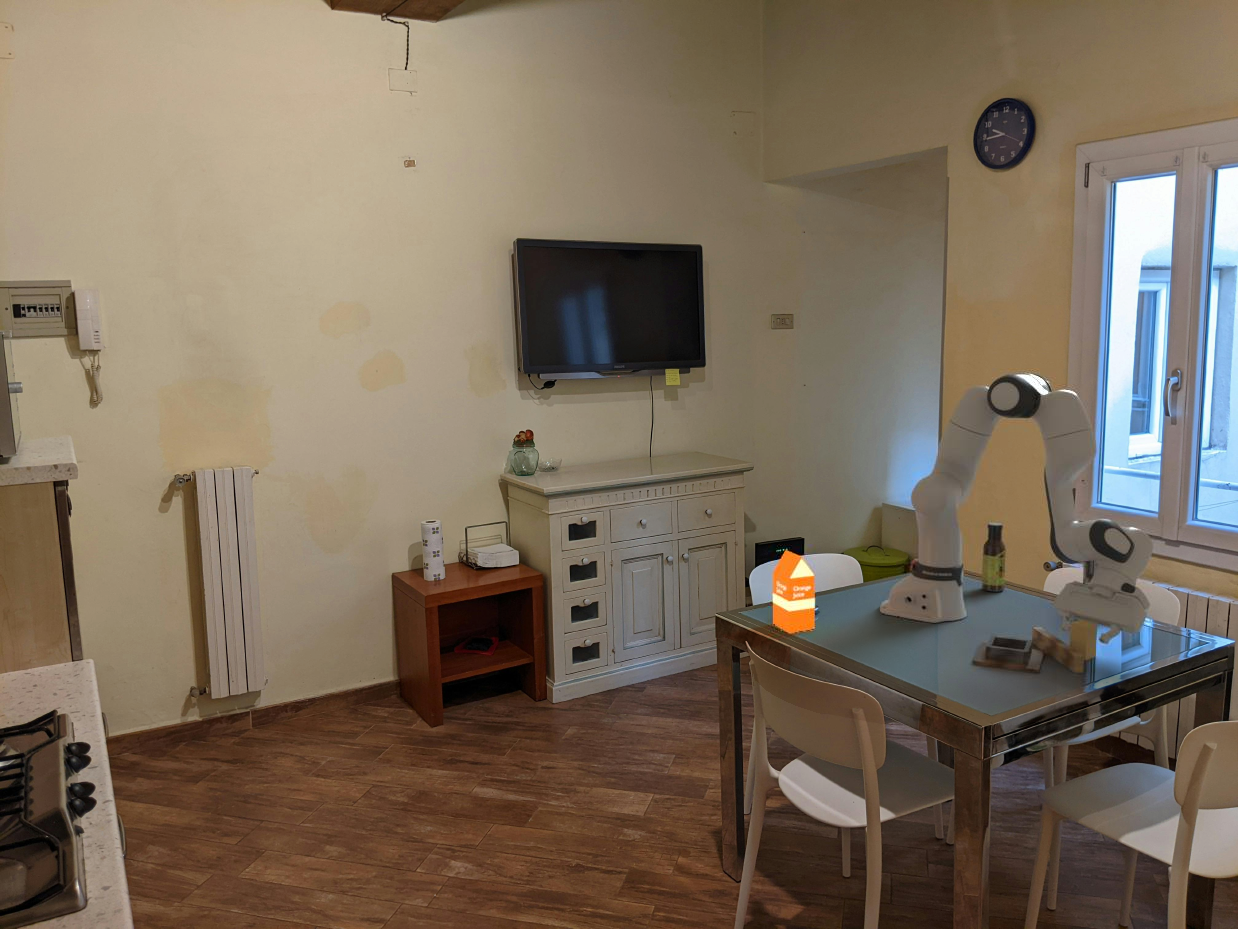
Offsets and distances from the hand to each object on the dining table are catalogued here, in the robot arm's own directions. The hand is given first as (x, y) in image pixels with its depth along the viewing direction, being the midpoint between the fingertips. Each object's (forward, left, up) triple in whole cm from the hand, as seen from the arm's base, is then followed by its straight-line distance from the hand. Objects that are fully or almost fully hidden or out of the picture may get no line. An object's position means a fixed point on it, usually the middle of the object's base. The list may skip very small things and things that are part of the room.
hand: (1083, 636), depth 213 cm
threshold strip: (-5, -3, -5) cm, 8 cm away
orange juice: (-68, -7, -5) cm, 69 cm away
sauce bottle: (-26, +50, -5) cm, 57 cm away
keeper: (-15, -9, -5) cm, 18 cm away
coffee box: (+2, +42, -5) cm, 43 cm away
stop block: (0, 0, -5) cm, 5 cm away
